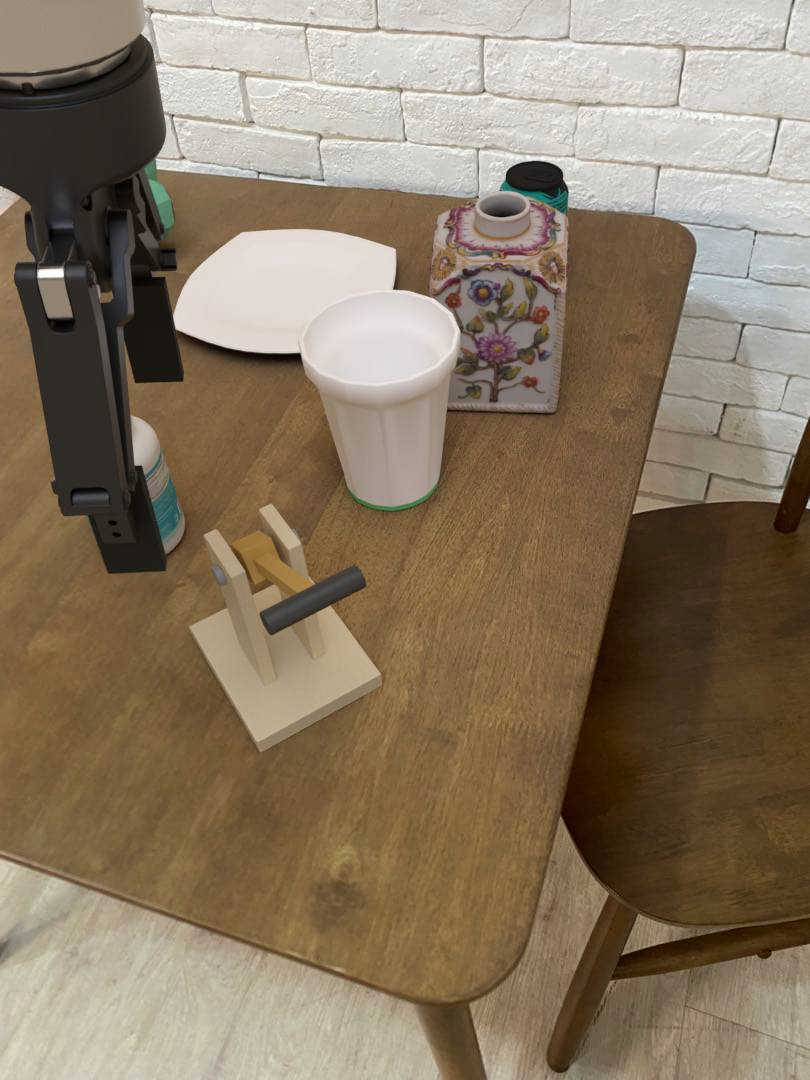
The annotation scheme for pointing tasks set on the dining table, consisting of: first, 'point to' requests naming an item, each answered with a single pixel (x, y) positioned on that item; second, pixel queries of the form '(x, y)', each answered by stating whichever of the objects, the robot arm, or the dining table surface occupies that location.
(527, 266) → the decorative jar
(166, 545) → the pill bottle
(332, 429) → the cup
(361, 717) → the dining table surface
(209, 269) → the plate
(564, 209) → the teal jar
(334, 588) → the latch lever
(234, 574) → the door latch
